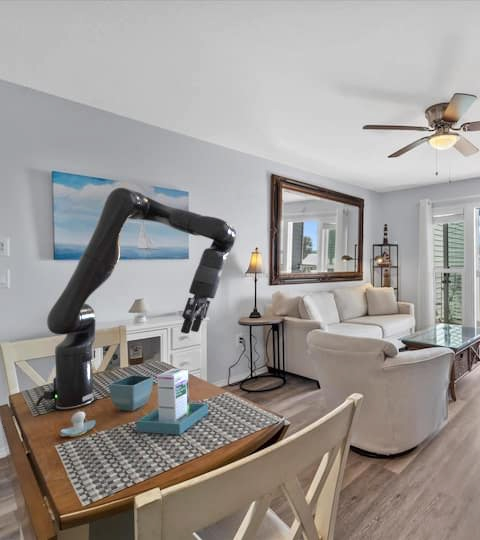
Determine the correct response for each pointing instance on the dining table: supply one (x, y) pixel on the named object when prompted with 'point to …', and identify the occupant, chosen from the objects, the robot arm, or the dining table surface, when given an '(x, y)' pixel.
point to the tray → (154, 426)
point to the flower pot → (131, 392)
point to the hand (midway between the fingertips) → (189, 332)
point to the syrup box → (173, 395)
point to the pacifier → (78, 425)
